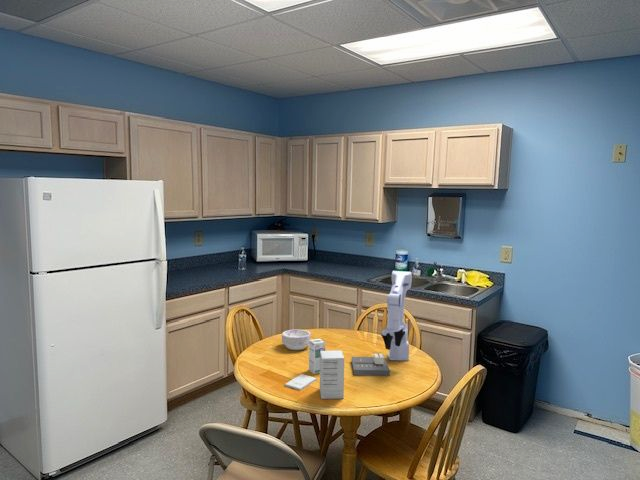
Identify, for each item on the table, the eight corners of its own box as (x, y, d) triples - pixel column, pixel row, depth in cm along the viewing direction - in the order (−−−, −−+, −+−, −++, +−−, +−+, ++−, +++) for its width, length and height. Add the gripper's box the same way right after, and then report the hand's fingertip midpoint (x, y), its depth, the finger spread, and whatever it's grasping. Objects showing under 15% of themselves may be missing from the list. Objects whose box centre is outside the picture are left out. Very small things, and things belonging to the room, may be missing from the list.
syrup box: (314, 374, 200) (314, 343, 199) (308, 369, 205) (308, 339, 204) (325, 372, 203) (325, 341, 201) (319, 367, 208) (319, 337, 206)
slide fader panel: (384, 362, 216) (384, 356, 216) (389, 375, 200) (389, 370, 200) (351, 361, 216) (351, 356, 216) (354, 375, 200) (354, 369, 200)
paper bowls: (294, 340, 245) (294, 326, 245) (316, 346, 237) (316, 332, 236) (275, 348, 233) (275, 333, 232) (298, 354, 224) (298, 339, 223)
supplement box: (344, 399, 177) (344, 358, 175) (320, 399, 176) (321, 358, 174) (340, 388, 186) (341, 349, 185) (319, 388, 186) (319, 350, 184)
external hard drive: (316, 381, 194) (300, 391, 184) (300, 377, 199) (284, 387, 188) (316, 377, 194) (300, 388, 184) (300, 373, 198) (284, 383, 188)
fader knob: (382, 360, 210) (382, 353, 210) (383, 364, 205) (383, 357, 205) (373, 360, 210) (373, 353, 210) (375, 364, 205) (375, 357, 205)
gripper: (396, 314, 213) (395, 342, 215) (377, 319, 204) (376, 348, 205) (408, 317, 208) (407, 345, 210) (389, 323, 198) (388, 352, 200)
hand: (392, 347), depth 207 cm, fingers open, 7 cm apart
